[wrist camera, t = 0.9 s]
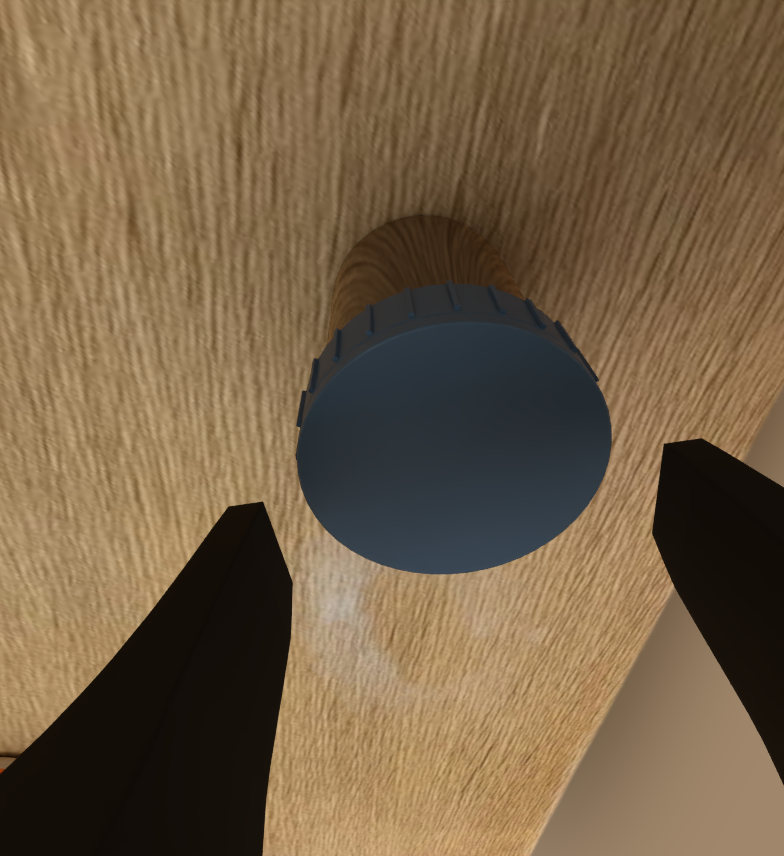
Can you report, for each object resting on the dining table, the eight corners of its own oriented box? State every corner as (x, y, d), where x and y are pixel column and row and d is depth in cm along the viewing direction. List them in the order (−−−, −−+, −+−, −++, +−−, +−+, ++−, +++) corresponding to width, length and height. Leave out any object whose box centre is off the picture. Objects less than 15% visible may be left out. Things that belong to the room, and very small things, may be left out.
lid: (483, 210, 10) (502, 240, 9) (635, 430, 13) (669, 481, 12) (241, 401, 12) (223, 452, 11) (417, 557, 15) (423, 614, 14)
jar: (440, 172, 16) (490, 264, 10) (542, 316, 18) (634, 464, 12) (294, 294, 18) (256, 439, 11) (406, 411, 20) (424, 582, 14)
